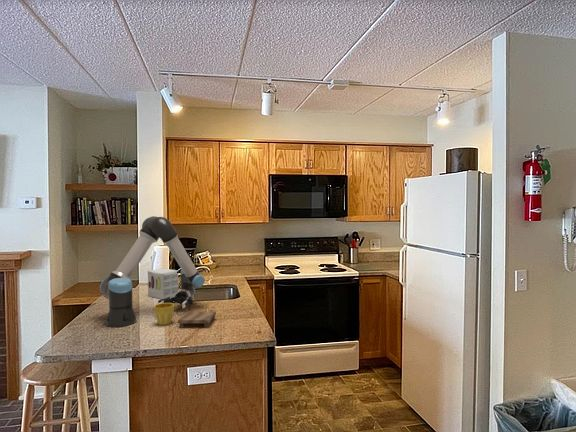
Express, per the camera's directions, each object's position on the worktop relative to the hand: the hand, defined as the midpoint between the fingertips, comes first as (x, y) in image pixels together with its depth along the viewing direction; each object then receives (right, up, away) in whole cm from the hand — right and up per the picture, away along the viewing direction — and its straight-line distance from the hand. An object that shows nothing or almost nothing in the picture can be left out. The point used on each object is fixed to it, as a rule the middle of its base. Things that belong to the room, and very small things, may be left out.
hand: (170, 306), depth 214 cm
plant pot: (0, -7, -10) cm, 12 cm away
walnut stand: (+18, -7, -10) cm, 22 cm away
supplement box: (-21, -6, +52) cm, 56 cm away
